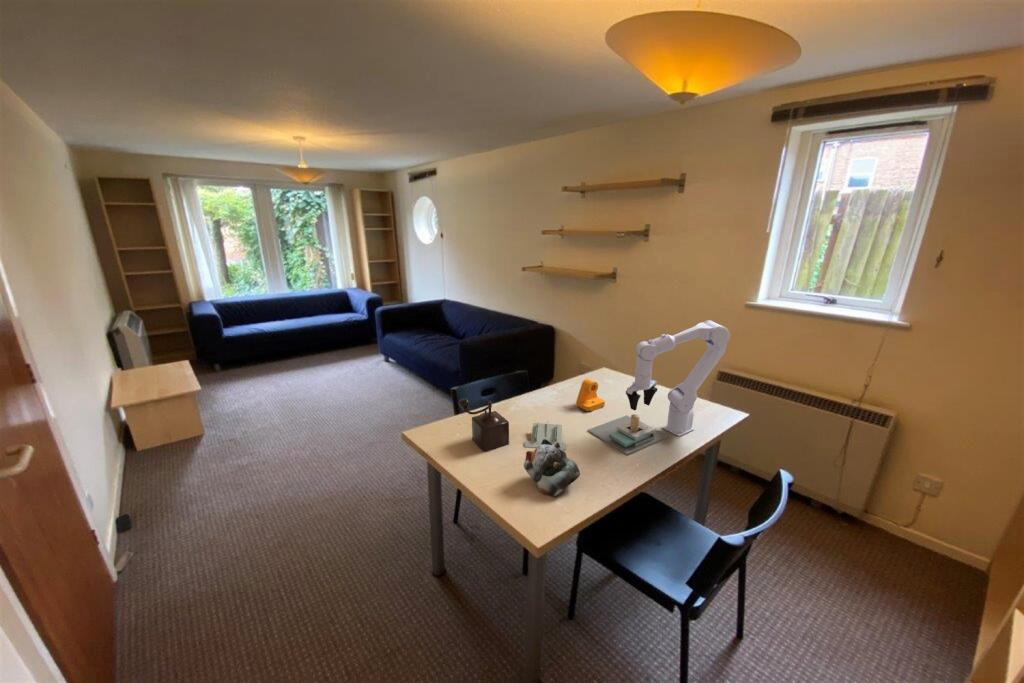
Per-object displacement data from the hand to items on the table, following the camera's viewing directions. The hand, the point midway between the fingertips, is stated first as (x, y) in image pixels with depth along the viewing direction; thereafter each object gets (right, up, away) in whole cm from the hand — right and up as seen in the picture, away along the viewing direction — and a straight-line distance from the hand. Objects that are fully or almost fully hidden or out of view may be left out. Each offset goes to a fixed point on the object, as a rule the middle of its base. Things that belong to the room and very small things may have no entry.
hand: (640, 406), depth 152 cm
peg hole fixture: (-5, -11, -5) cm, 13 cm away
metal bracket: (-36, -12, -4) cm, 38 cm away
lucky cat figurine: (-37, -19, -28) cm, 50 cm away
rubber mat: (-5, -10, 0) cm, 12 cm away
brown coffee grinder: (-59, -13, -6) cm, 61 cm away
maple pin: (-4, -11, -4) cm, 12 cm away
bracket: (-14, -4, +23) cm, 27 cm away
